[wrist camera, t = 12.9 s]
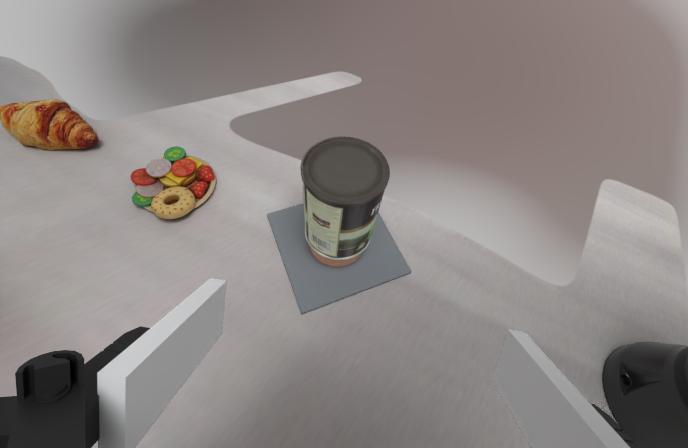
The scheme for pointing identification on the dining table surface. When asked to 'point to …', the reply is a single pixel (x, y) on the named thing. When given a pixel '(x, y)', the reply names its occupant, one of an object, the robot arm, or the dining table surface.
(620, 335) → the dining table surface
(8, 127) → the croissant
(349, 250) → the coffee can
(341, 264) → the bowl
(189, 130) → the dining table surface
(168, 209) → the toy food set
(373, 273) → the mat
